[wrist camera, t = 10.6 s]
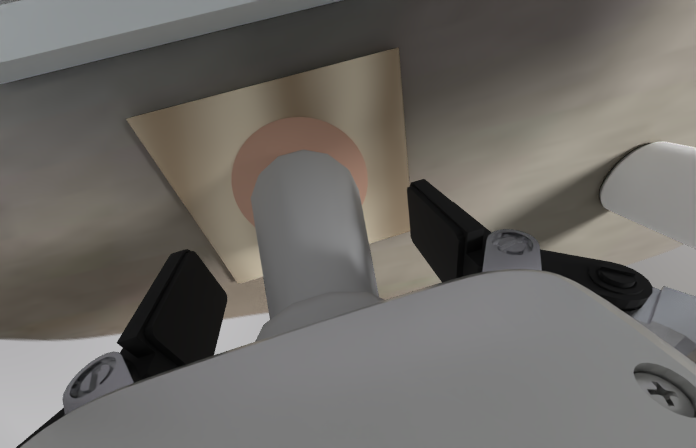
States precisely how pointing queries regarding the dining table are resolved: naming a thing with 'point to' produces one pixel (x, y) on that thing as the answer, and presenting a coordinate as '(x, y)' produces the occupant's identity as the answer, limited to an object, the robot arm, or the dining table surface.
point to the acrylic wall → (114, 28)
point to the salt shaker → (311, 241)
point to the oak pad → (285, 148)
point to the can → (656, 189)
